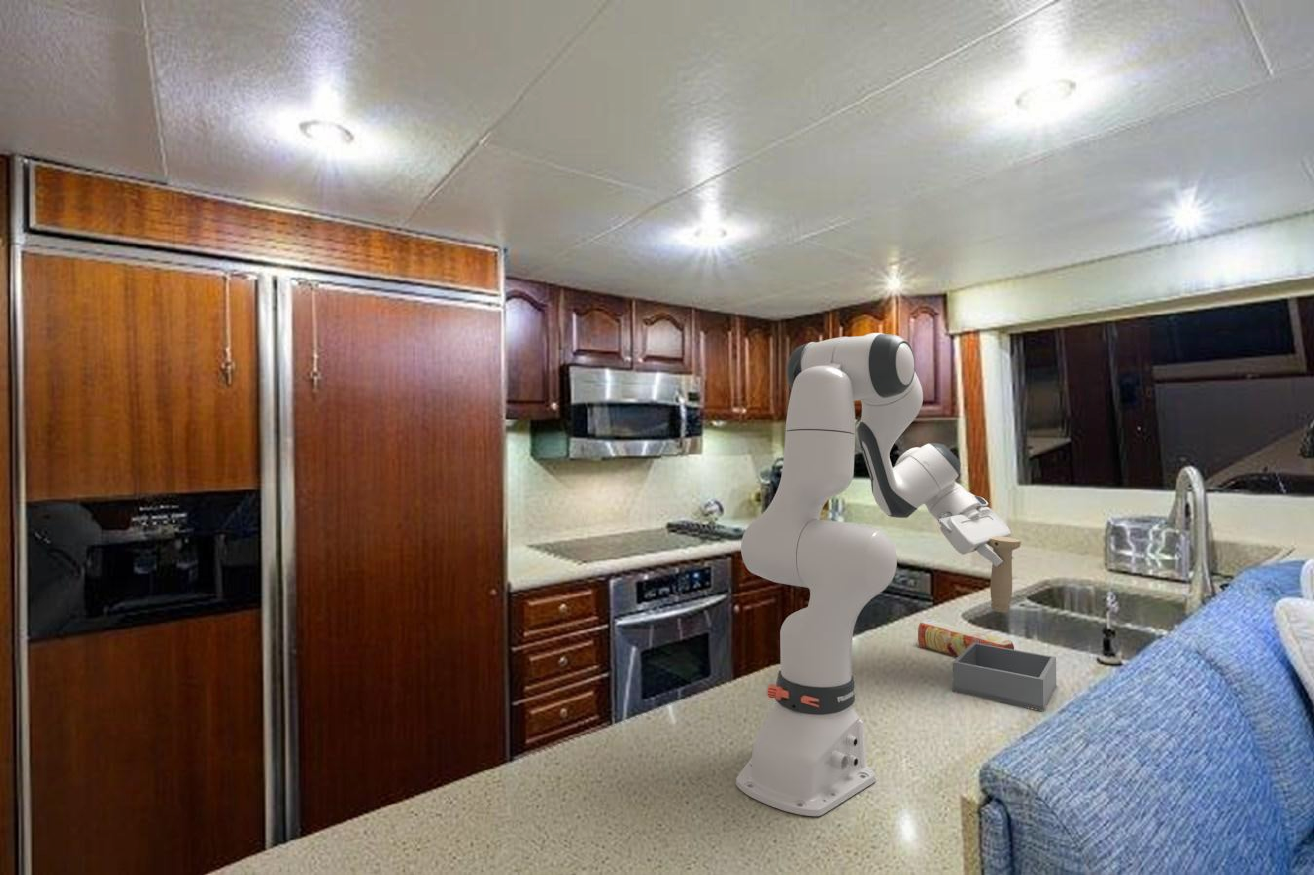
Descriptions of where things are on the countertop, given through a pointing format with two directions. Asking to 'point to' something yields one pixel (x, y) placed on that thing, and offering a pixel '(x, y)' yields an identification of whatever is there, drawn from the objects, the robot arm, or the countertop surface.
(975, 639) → the snack package
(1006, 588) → the handle
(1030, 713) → the countertop surface
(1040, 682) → the box
